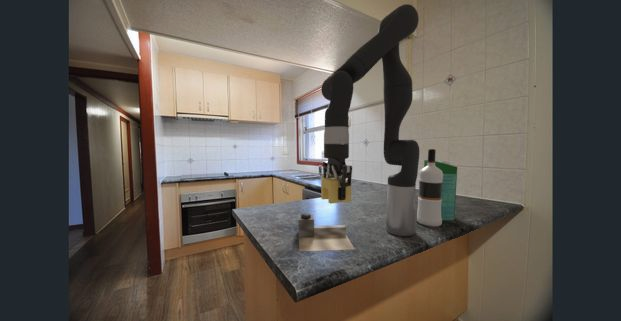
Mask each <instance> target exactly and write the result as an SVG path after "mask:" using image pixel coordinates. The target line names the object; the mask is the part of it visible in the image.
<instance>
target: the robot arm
mask: <svg viewBox="0 0 621 321" xmlns="http://www.w3.org/2000/svg"><path fill="white" fill-rule="evenodd" d="M418 25H419V14H418V10H417V9H416V8H415V7H414V6H413V5H412V4H410V3H409V4H408V3H407V4H406V3H405V4H402V5H399V6H398V7H396V8H395V9H394V10H392V11H390V13H388V15H386V16H385V17H384V18H382V19H381V21H380V23H379V25H378V32H377V33H376V35H374V36H373V37H372V38H370V39H369V40H368V41H366V42H365V43H364V44H363V45H362V46H361V47H359V48H358V49H357V50H356V51H354V53H352V55H350V57H349V58H348V59H346V61H344V63H343V64H342V65H341V66H340V67H339V68H338V69H336V70H335V71H334V72H332V73H331V75H329V76H328V77H327V78H326V79H324V81H323V82H322V84H321V94H322V96H323V98H324V99H325V100H326V101H329V106H328V107H326V109H325V111H324V132H323V158H324V159H326V160H327V161H324V162H322V170H323V171H322V173H323V174H322V175H323V177H322V178H333V177H334V178H335V180H336V181H338V187H339V188H338V200H345V199H346V187H347V186H351V187H352V178H353V177H352V176H353V175H352V173H353V166H352V165H351V164H350V165H349V164H348V165H347V162H346V159H349V157H350V132H349V111H350V108H351V104H352V99H353V94H354V84H355V83H357V82H359V81H360V80H361V79H363V78H364V77H365V76H366V75H367V73H369V72H370V71H371V69H373V67H374V66H375V65H377V63H378V62H379V61H380V60H382V61H381V66H382V78H383V79H382V80H383V83H382V84H383V104H384V105H383V108H384V133H383V134H384V135H383V158H384V161H385V163H387V165H390V166H398V167H399V166H401V168H400V171H399V172H397V173H395V174H391V175H389V176H388V177H387V188H386V189H387V190H386V191H387V193H386V196H387V197H386V218H385V220H386V222H385V223H386V226H385V230H386V231H387V233H389V234H392V235H395V236H397V237H398V236H399V237H410V236H413V235H417V223H418V222H417V210H418V206H416V205H415V204H416V185H417V178H418V175H419V172H418V171H419V161H420V146H419V143H418V142H417V141H416V140H415V139H400V129H401V128H400V127H401V125H402V123H403V120H404V118H405V116H406V115H407V113H408V111H409V109H410V107H411V105H412V102H413V97H414V96H413V80H412V77H411V74H410V72H409V71H408V69H407V68H406V67H405V66H404V64H403V63H402V60H401V56H400V55H401V54H400V43H401V42H402V41H403V40H405V39H407V38H409V37H411V35H412V34H413V33H414V32H415V31H416V29H417V28H418ZM339 176H340V177H339ZM346 178H347V179H348V180H347V181H346ZM340 180H342V181H340Z"/></svg>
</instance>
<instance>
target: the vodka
mask: <svg viewBox="0 0 621 321" xmlns="http://www.w3.org/2000/svg"><path fill="white" fill-rule="evenodd" d="M436 152H437V150H436V149H435V148H430V149H428V151H427V160H428V165H427V166H426V167H422V168H421V169H420V170H419V172H418V180H419V181H418V197H417V223H418V224H420V225H423V226H425V227H432V228H433V227H436V228H437V227H440V226H441V225H442V224H443V220H442V218H441V202H442V200H441V195H442V182H443V172H442V170H440V169H439V168H437V167H436V166H435V161H436Z"/></svg>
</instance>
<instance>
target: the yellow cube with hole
mask: <svg viewBox="0 0 621 321" xmlns="http://www.w3.org/2000/svg"><path fill="white" fill-rule="evenodd" d="M339 177H340V176H339ZM320 179H321V180H320V181H321V182H320V184H321V185H320V187H321V188H320V189H321V192H320V193H321V196H320V198H321V200H327V201H328V202H327V203H329V204H330V205H331V204H338V203H345V202H352V185H351V186H347V187H346V199H345V200H338V188H339V187H338V181H336V180H335V178H334V177H333V178H324V177H321V178H320ZM347 180H348V178H346V181H347ZM340 181H342V180H340Z"/></svg>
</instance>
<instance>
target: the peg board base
mask: <svg viewBox="0 0 621 321" xmlns="http://www.w3.org/2000/svg"><path fill="white" fill-rule="evenodd" d="M297 216H298V217H297V218H298V219H297V224H298V225H297V226H298V227H297V233H298V250H299V252H324V251H325V252H326V251H327V252H328V251H349V250H350V251H351V250H355V251H356V249H355V247H354V245H353V243H352V242H351V241H350V239H349V237H348V236H347V227H346V225H345V224H342V225H341V224H337V225H336V224H333V225H315V218H314V213H313V214H311V213H309V212H303V213H301V214H297Z"/></svg>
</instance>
